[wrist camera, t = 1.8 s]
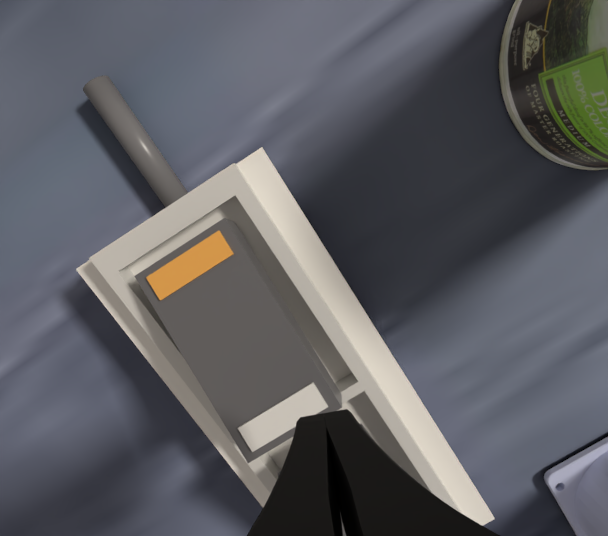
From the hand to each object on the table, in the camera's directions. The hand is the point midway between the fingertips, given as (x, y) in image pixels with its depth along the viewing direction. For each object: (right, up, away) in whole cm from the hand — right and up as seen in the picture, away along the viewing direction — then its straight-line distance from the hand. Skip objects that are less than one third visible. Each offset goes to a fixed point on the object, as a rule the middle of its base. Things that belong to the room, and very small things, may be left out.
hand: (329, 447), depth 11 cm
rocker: (-3, +2, +5) cm, 6 cm away
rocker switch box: (-2, +2, +10) cm, 11 cm away
